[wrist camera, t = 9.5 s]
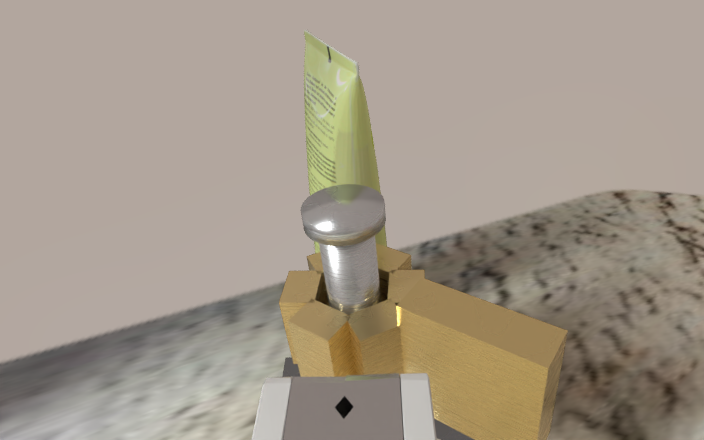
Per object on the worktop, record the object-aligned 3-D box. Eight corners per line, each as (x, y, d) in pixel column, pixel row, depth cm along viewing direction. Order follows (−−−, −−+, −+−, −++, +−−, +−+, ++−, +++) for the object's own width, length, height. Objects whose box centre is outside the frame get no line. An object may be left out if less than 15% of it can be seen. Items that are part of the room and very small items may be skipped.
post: (262, 527, 26) (172, 296, 17) (288, 368, 34) (236, 159, 26) (488, 522, 25) (509, 276, 16) (458, 360, 33) (461, 141, 25)
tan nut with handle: (510, 517, 19) (523, 416, 16) (271, 377, 26) (246, 285, 23) (566, 395, 23) (586, 294, 20) (348, 301, 30) (335, 214, 27)
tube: (412, 308, 37) (398, 30, 27) (385, 359, 34) (356, 60, 23) (343, 291, 40) (304, 28, 29) (310, 337, 36) (253, 56, 25)
